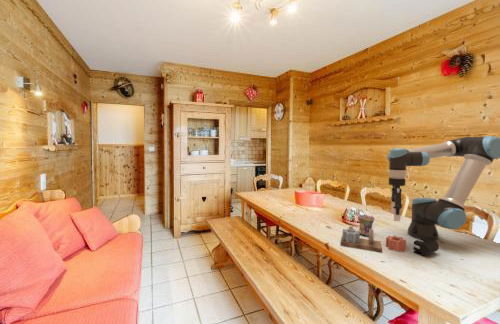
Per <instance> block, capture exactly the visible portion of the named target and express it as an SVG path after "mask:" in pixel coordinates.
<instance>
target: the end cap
mask: <svg viewBox="0 0 500 324" xmlns="http://www.w3.org/2000/svg"><path fill="white" fill-rule="evenodd" d="M413 245H414V246H412V247H413V253H414V254H416V255H418V256H421V257H425V256H428V255H430V254H432V253H434V252H437V251H438V250H439V249H440V245H439V243H438V241H437V240H433V239H432V240H428V239H424V238H421V239H420V240H419V239H416V240H414V241H413ZM416 246H417V247H416ZM418 247H419V248H418Z"/></svg>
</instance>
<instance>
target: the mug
mask: <svg viewBox="0 0 500 324" xmlns="http://www.w3.org/2000/svg"><path fill="white" fill-rule="evenodd" d="M375 219H376V218H375V217H374V216H371V215H366V214H359V215H358V216H357V221H358V223H359V229H358V231H359V232H360V235H361V236H365V237H369V229H373V224H374V221H375Z"/></svg>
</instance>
